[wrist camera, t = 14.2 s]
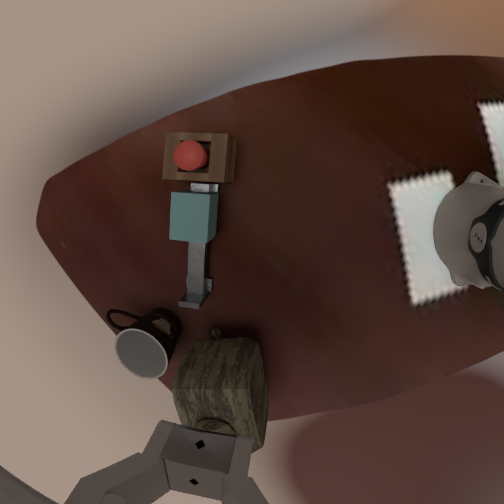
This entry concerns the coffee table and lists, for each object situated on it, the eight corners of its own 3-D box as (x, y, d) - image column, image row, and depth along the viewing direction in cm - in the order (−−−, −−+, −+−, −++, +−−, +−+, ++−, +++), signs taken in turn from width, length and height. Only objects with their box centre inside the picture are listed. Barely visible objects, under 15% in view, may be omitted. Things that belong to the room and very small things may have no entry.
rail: (219, 184, 43) (209, 185, 38) (212, 294, 47) (202, 310, 42) (193, 182, 44) (179, 183, 38) (188, 290, 48) (175, 305, 42)
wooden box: (237, 140, 42) (228, 133, 35) (233, 182, 43) (223, 182, 36) (183, 138, 42) (166, 132, 36) (180, 178, 44) (162, 178, 37)
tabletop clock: (204, 320, 49) (143, 427, 25) (259, 315, 47) (233, 433, 23) (222, 390, 52) (186, 501, 28) (271, 387, 50) (258, 506, 26)
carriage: (220, 192, 42) (210, 194, 37) (217, 234, 44) (206, 243, 38) (186, 190, 43) (171, 192, 37) (183, 231, 44) (169, 239, 38)
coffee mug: (197, 338, 50) (178, 371, 40) (158, 352, 51) (135, 383, 42) (162, 278, 48) (135, 301, 38) (124, 296, 50) (94, 320, 40)
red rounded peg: (215, 145, 39) (204, 140, 33) (213, 172, 40) (201, 171, 34) (189, 144, 39) (174, 139, 33) (187, 170, 40) (172, 169, 34)
